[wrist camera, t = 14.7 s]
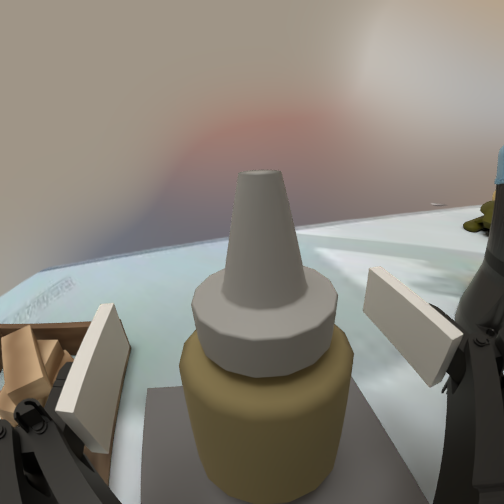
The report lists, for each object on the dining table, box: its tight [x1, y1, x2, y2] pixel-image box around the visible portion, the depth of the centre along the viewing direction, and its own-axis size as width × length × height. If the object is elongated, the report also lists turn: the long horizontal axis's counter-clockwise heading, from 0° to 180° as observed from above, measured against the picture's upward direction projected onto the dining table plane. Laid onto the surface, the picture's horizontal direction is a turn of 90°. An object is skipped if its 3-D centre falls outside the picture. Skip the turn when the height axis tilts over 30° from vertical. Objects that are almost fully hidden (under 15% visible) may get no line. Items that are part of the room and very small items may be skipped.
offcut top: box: [1, 325, 52, 406], centre depth 18 cm, size 4×10×2 cm, turn 48°
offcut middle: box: [0, 340, 65, 425], centre depth 18 cm, size 5×11×2 cm, turn 11°
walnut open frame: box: [0, 319, 131, 486], centre depth 16 cm, size 22×20×4 cm
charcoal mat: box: [141, 376, 429, 504], centre depth 15 cm, size 18×18×1 cm
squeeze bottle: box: [179, 170, 354, 504], centre depth 11 cm, size 8×8×18 cm
